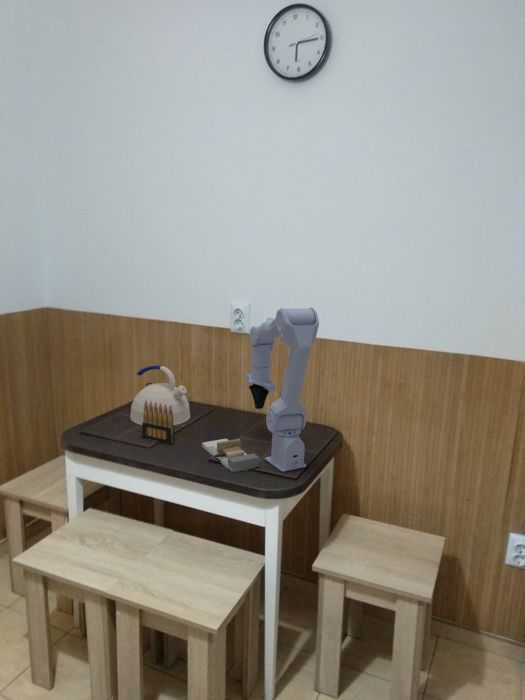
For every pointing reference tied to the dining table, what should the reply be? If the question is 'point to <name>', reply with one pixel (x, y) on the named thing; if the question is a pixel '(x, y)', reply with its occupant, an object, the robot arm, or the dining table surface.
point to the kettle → (161, 398)
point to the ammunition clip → (158, 423)
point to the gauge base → (233, 458)
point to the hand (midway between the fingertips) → (259, 408)
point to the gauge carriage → (229, 448)
